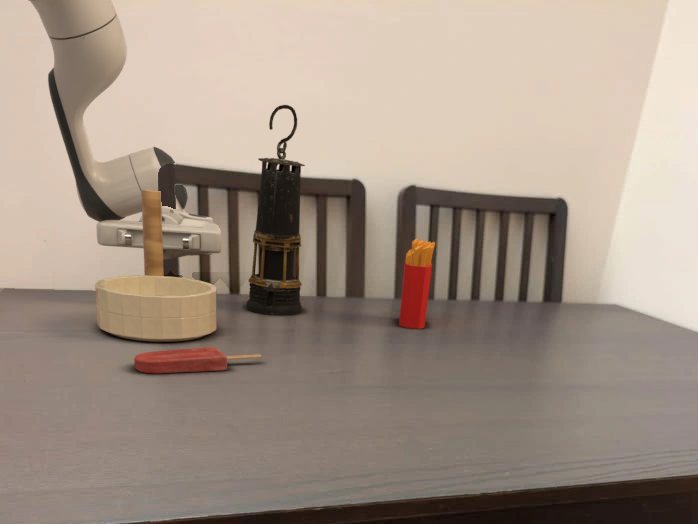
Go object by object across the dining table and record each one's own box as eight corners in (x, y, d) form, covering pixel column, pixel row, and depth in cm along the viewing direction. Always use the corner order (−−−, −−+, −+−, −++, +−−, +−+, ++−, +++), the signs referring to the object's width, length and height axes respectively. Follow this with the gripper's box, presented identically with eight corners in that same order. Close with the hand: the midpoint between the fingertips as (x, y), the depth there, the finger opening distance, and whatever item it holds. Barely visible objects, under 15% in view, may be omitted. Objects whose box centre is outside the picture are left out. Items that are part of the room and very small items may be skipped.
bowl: (78, 323, 100) (74, 278, 98) (177, 313, 110) (177, 273, 108) (135, 349, 90) (133, 300, 88) (238, 336, 100) (239, 292, 98)
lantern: (268, 316, 113) (274, 101, 101) (234, 305, 119) (236, 100, 107) (312, 312, 119) (323, 108, 107) (278, 301, 125) (285, 106, 113)
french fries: (398, 317, 121) (407, 235, 116) (424, 319, 121) (433, 238, 116) (398, 328, 113) (407, 241, 108) (426, 331, 113) (436, 244, 108)
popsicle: (267, 353, 86) (138, 361, 80) (267, 367, 87) (139, 376, 81) (255, 344, 90) (130, 351, 83) (255, 357, 91) (131, 365, 84)
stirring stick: (135, 305, 113) (129, 188, 106) (160, 303, 116) (156, 189, 109) (149, 311, 110) (145, 191, 103) (175, 309, 113) (172, 192, 106)
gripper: (101, 209, 126) (87, 216, 113) (221, 218, 130) (221, 225, 117) (103, 247, 128) (90, 258, 116) (221, 254, 132) (220, 266, 120)
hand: (157, 241), depth 117 cm, fingers open, 8 cm apart
